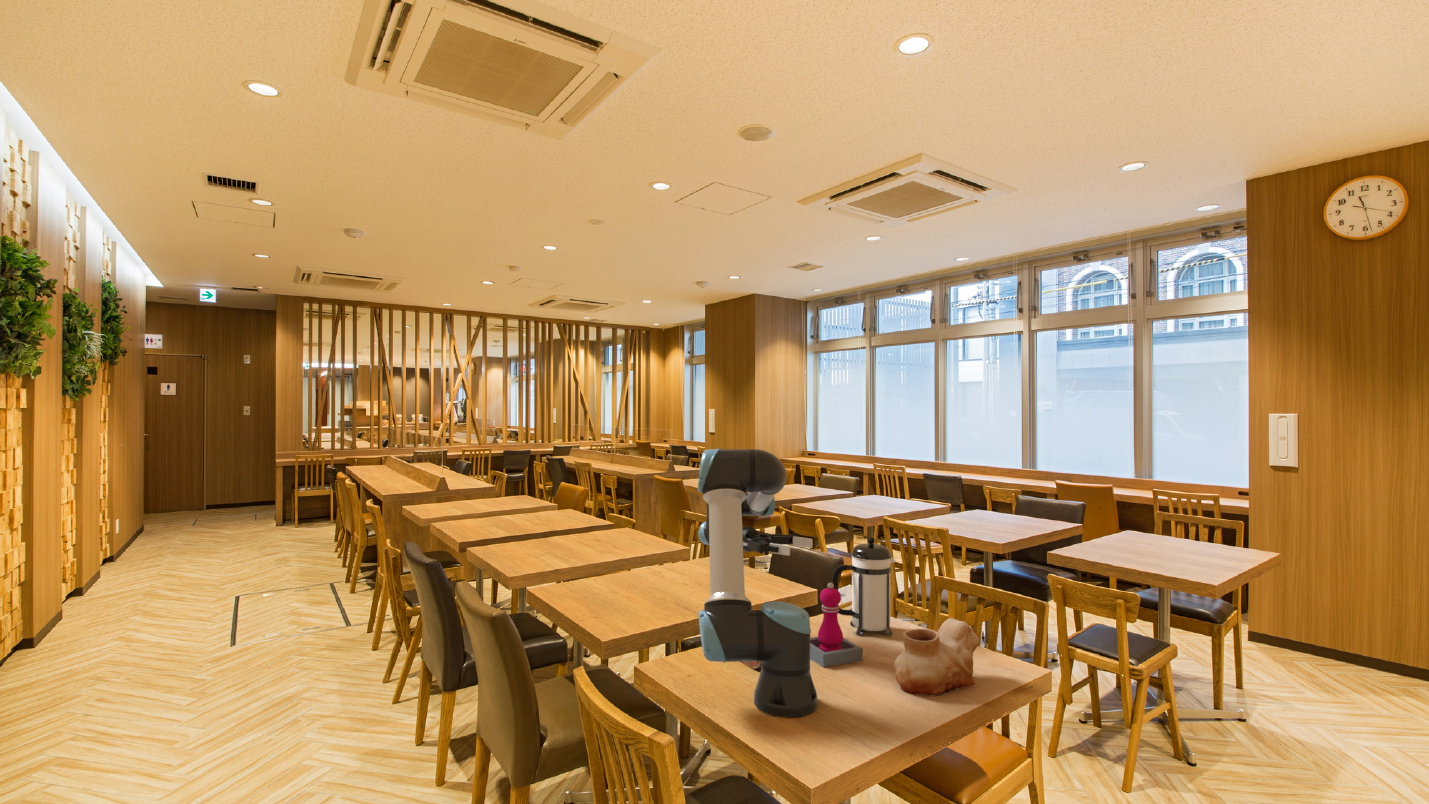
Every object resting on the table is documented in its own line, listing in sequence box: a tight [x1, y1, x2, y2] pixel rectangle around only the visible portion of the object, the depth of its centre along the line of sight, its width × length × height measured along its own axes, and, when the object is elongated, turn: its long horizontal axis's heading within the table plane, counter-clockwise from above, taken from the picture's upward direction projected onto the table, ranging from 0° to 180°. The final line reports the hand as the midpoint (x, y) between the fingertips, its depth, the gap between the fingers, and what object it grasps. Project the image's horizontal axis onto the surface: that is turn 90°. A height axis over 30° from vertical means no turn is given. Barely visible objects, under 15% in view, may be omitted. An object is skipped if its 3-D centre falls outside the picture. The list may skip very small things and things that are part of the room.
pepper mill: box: [817, 582, 844, 652], centre depth 188 cm, size 7×7×20 cm
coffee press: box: [831, 536, 896, 637], centre depth 210 cm, size 17×16×30 cm
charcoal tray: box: [810, 636, 864, 668], centre depth 188 cm, size 13×13×4 cm
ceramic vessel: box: [893, 617, 979, 697], centre depth 171 cm, size 14×26×15 cm, turn 119°
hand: (801, 547), depth 195 cm, fingers open, 13 cm apart
